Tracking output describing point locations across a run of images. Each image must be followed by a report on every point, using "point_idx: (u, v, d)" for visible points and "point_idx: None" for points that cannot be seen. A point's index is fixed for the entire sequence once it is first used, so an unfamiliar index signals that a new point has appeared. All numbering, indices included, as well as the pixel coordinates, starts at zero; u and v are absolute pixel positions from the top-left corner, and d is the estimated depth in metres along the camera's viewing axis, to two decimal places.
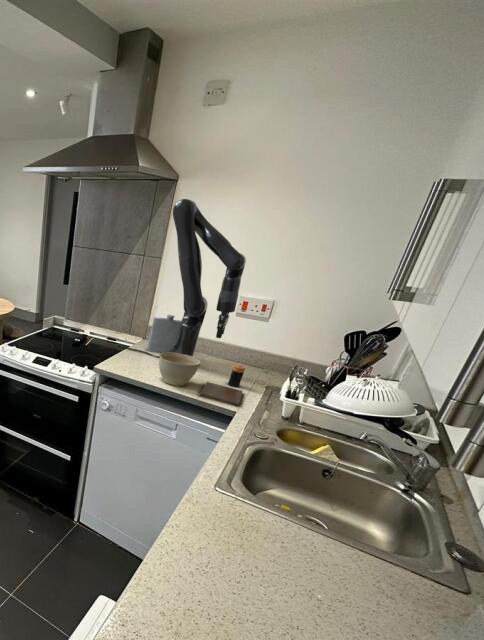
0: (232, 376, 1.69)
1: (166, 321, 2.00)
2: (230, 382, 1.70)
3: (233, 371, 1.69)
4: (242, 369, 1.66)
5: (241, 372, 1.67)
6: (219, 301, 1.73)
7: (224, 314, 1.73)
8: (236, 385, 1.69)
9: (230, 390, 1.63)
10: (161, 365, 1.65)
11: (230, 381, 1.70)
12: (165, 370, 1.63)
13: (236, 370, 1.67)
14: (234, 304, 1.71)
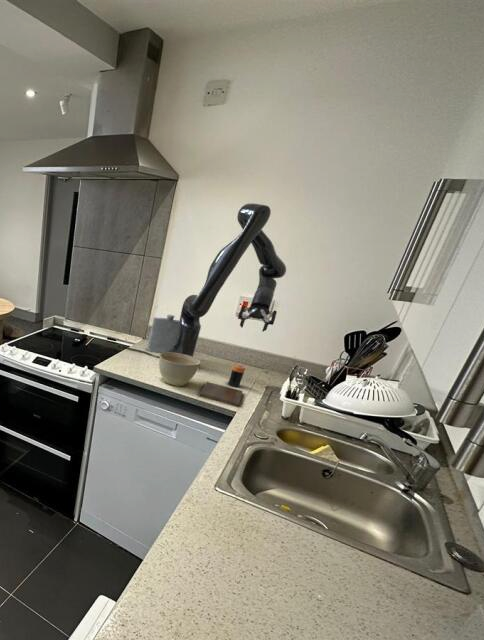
0: (232, 376, 1.69)
1: (166, 321, 2.00)
2: (230, 382, 1.70)
3: (233, 371, 1.69)
4: (242, 369, 1.66)
5: (241, 372, 1.67)
6: (269, 297, 1.74)
7: (268, 311, 1.75)
8: (236, 385, 1.69)
9: (230, 390, 1.63)
10: (161, 365, 1.65)
11: (230, 381, 1.70)
12: (165, 370, 1.63)
13: (236, 370, 1.67)
14: None
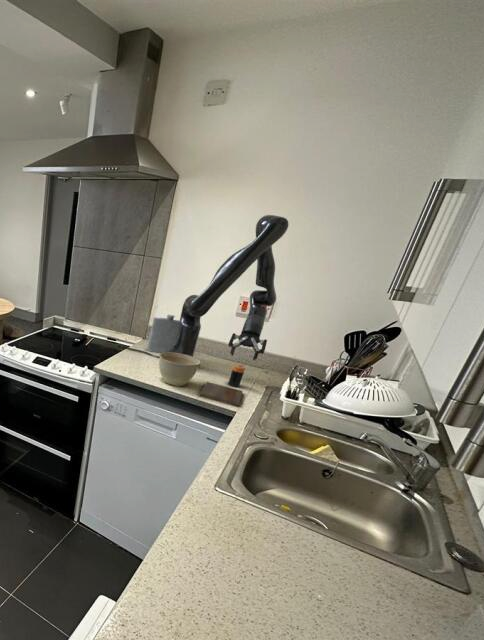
0: (232, 376, 1.69)
1: (166, 321, 2.00)
2: (230, 382, 1.70)
3: (233, 371, 1.69)
4: (242, 369, 1.66)
5: (241, 372, 1.67)
6: (259, 325, 1.73)
7: None
8: (236, 385, 1.69)
9: (230, 390, 1.63)
10: (161, 365, 1.65)
11: (230, 381, 1.70)
12: (165, 370, 1.63)
13: (236, 370, 1.67)
14: None
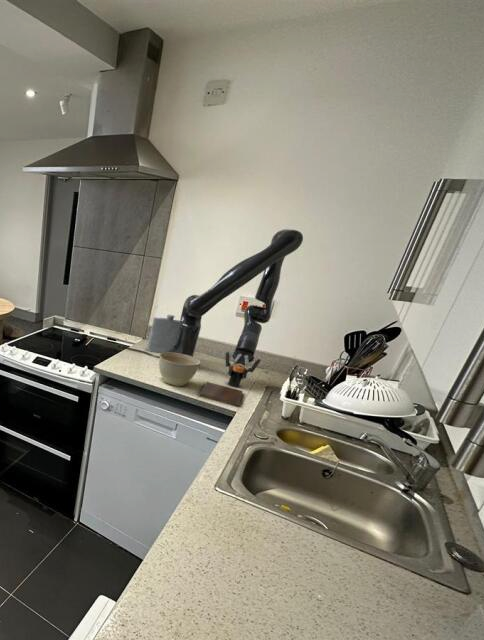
0: (232, 376, 1.69)
1: (166, 321, 2.00)
2: (230, 382, 1.70)
3: (233, 371, 1.69)
4: (242, 369, 1.66)
5: (241, 372, 1.67)
6: (254, 342, 1.69)
7: (253, 357, 1.69)
8: (236, 385, 1.69)
9: (230, 390, 1.63)
10: (161, 365, 1.65)
11: (230, 381, 1.70)
12: (165, 370, 1.63)
13: (236, 370, 1.67)
14: None
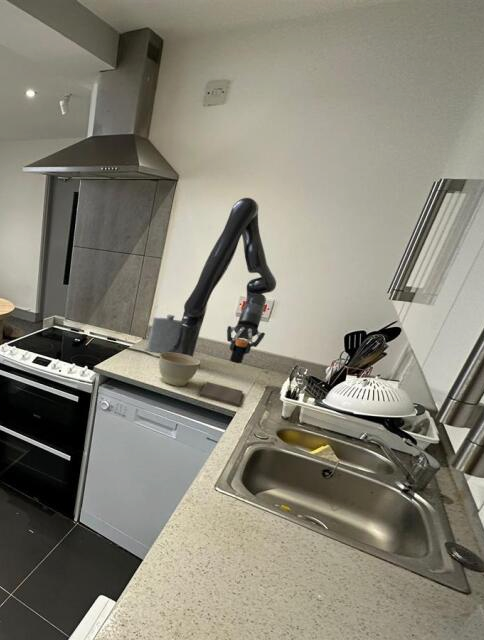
0: (234, 351, 1.57)
1: (166, 321, 2.00)
2: (232, 357, 1.58)
3: (235, 346, 1.56)
4: (245, 343, 1.54)
5: (244, 346, 1.54)
6: (257, 315, 1.57)
7: (257, 331, 1.57)
8: (239, 361, 1.57)
9: (230, 390, 1.63)
10: (161, 365, 1.65)
11: (232, 357, 1.58)
12: (165, 370, 1.63)
13: (239, 344, 1.55)
14: None
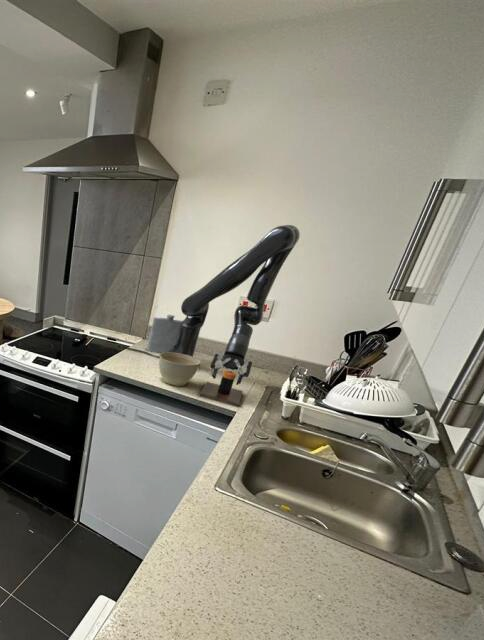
0: (222, 383, 1.57)
1: (166, 321, 2.00)
2: (220, 389, 1.58)
3: (223, 378, 1.57)
4: (233, 376, 1.54)
5: (232, 379, 1.55)
6: (244, 346, 1.57)
7: None
8: (226, 393, 1.57)
9: None
10: (161, 365, 1.65)
11: (220, 388, 1.58)
12: (165, 370, 1.63)
13: (226, 377, 1.55)
14: None
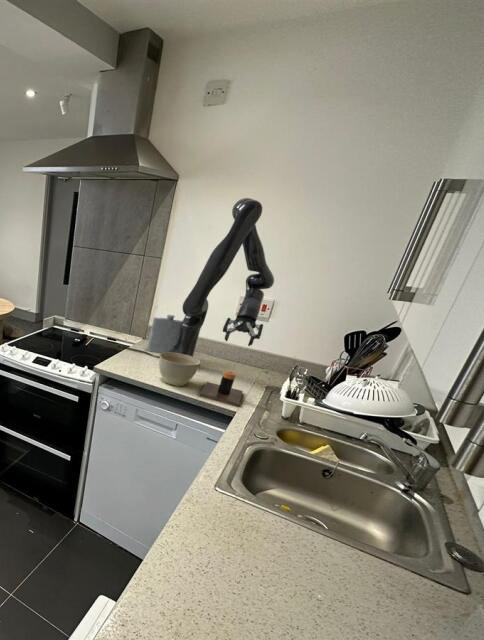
0: (222, 383, 1.57)
1: (166, 321, 2.00)
2: (220, 389, 1.58)
3: (223, 378, 1.57)
4: (233, 376, 1.54)
5: (232, 379, 1.55)
6: (255, 309, 1.64)
7: None
8: (226, 393, 1.57)
9: None
10: (161, 365, 1.65)
11: (220, 388, 1.58)
12: (165, 370, 1.63)
13: (226, 377, 1.55)
14: None
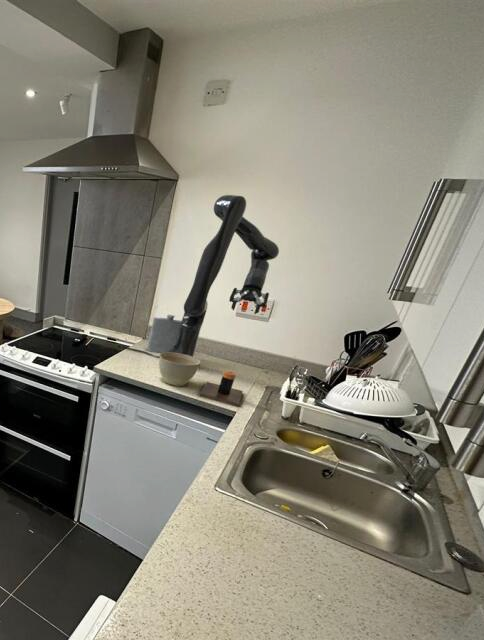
0: (222, 383, 1.57)
1: (166, 321, 2.00)
2: (220, 389, 1.58)
3: (223, 378, 1.57)
4: (233, 376, 1.54)
5: (232, 379, 1.55)
6: (261, 278, 1.69)
7: None
8: (226, 393, 1.57)
9: None
10: (161, 365, 1.65)
11: (220, 388, 1.58)
12: (165, 370, 1.63)
13: (226, 377, 1.55)
14: None
